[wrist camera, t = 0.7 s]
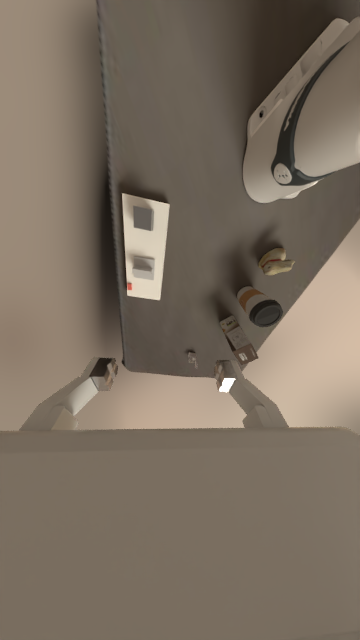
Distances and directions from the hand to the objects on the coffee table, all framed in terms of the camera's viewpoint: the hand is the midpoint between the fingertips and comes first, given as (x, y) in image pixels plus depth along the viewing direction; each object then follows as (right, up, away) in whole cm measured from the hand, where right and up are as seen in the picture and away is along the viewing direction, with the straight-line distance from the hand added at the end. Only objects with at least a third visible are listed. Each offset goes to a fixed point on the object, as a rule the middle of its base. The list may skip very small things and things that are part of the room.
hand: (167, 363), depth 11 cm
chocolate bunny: (+29, +23, +31) cm, 49 cm away
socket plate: (-9, +23, +30) cm, 39 cm away
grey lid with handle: (-10, +19, +29) cm, 36 cm away
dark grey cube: (-8, +29, +23) cm, 38 cm away
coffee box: (+23, +1, +46) cm, 52 cm away
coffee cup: (+25, +13, +38) cm, 47 cm away
